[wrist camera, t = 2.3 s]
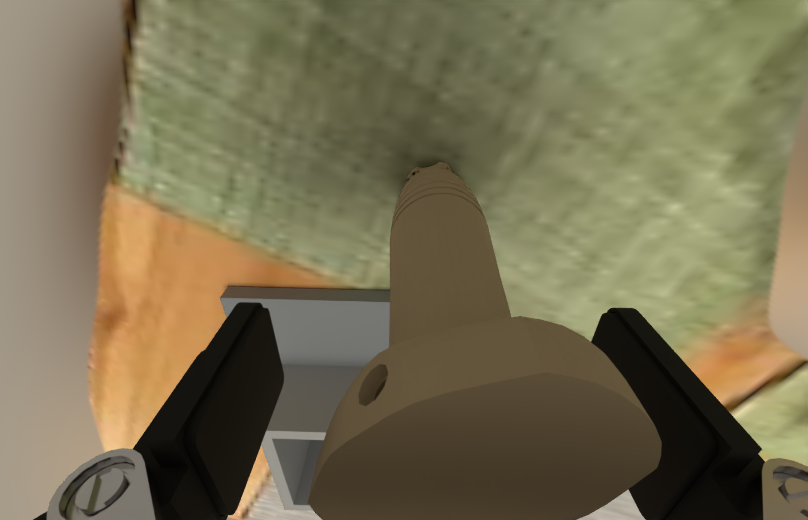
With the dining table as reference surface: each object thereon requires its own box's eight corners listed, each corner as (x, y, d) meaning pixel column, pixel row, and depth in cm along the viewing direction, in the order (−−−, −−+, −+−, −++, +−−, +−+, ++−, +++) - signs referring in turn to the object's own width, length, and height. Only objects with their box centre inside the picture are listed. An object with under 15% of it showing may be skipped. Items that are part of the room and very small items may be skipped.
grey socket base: (228, 286, 23) (173, 359, 18) (503, 293, 23) (530, 369, 17) (277, 442, 32) (251, 519, 27) (471, 448, 32) (482, 528, 27)
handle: (360, 198, 19) (257, 496, 7) (446, 110, 17) (545, 319, 4) (421, 251, 21) (431, 569, 8) (507, 178, 19) (709, 474, 6)
